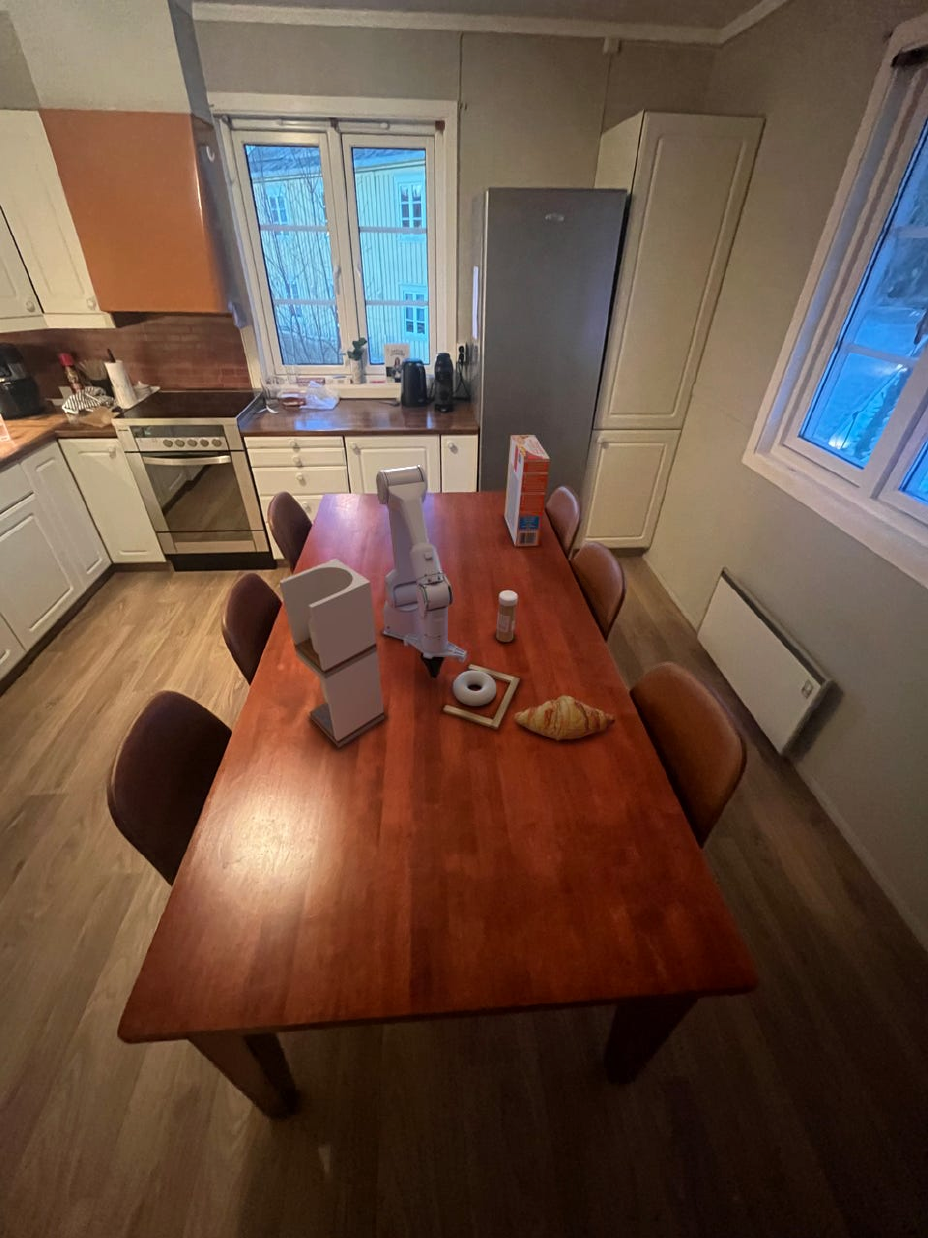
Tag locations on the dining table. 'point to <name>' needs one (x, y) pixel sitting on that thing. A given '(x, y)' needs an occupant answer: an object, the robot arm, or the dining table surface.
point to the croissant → (564, 719)
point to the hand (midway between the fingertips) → (435, 675)
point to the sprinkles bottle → (506, 615)
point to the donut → (474, 696)
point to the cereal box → (526, 489)
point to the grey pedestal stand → (337, 645)
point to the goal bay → (503, 706)
